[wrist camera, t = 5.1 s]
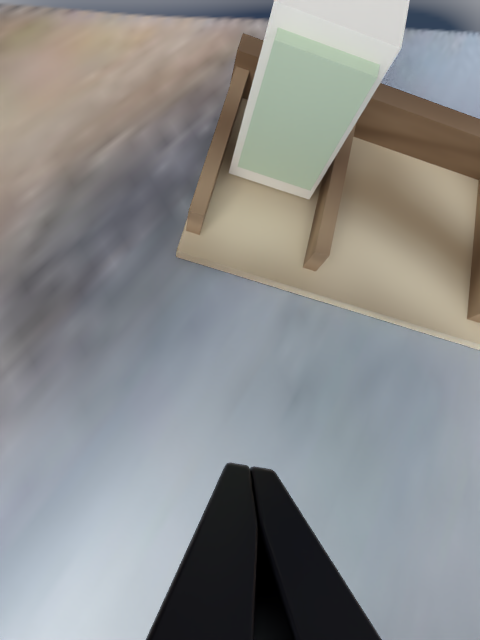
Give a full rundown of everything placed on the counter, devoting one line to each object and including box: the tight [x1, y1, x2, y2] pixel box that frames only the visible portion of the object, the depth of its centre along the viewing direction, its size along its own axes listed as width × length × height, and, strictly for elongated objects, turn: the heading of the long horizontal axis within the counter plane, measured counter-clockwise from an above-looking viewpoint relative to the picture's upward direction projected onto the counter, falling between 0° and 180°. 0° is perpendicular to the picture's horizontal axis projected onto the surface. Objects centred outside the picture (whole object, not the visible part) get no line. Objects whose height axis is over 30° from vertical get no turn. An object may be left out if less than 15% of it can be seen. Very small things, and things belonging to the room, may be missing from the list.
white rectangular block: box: [229, 0, 410, 199], centre depth 17 cm, size 4×4×8 cm
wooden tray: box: [176, 33, 480, 350], centre depth 20 cm, size 10×19×3 cm, turn 76°
